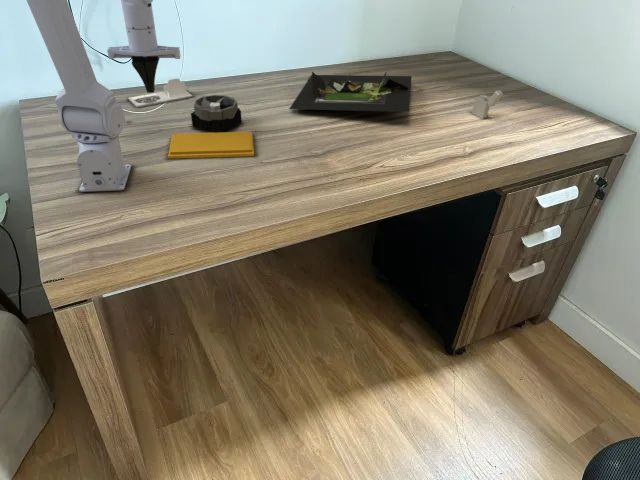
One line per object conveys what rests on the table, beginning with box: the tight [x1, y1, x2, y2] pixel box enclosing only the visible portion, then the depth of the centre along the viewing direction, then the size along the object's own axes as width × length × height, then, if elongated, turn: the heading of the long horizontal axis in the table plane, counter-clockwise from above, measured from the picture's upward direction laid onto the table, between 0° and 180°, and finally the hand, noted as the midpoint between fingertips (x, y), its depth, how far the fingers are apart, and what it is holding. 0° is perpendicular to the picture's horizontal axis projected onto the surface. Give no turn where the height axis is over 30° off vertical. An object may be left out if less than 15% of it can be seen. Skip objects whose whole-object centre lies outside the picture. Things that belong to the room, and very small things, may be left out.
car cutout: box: [128, 78, 194, 108], centre depth 129 cm, size 15×7×4 cm, turn 126°
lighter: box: [471, 89, 504, 120], centre depth 127 cm, size 7×2×8 cm, turn 31°
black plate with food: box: [289, 71, 413, 113], centre depth 134 cm, size 30×8×30 cm
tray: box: [167, 131, 255, 160], centre depth 108 cm, size 10×18×1 cm, turn 99°
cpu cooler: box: [190, 94, 242, 133], centre depth 116 cm, size 10×6×10 cm
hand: (150, 91), depth 109 cm, fingers closed
